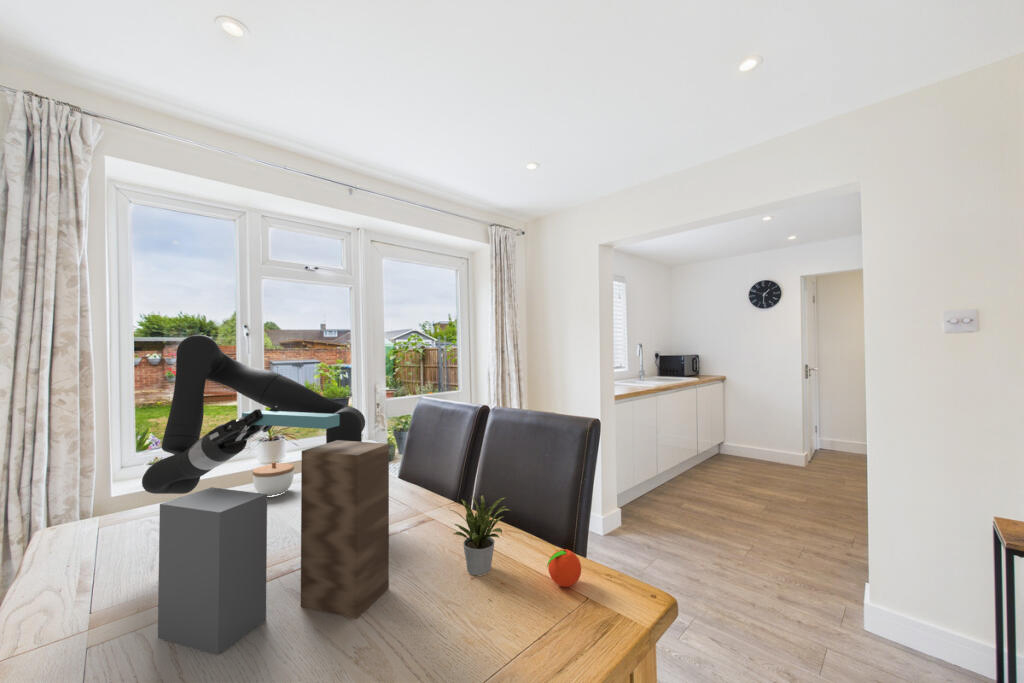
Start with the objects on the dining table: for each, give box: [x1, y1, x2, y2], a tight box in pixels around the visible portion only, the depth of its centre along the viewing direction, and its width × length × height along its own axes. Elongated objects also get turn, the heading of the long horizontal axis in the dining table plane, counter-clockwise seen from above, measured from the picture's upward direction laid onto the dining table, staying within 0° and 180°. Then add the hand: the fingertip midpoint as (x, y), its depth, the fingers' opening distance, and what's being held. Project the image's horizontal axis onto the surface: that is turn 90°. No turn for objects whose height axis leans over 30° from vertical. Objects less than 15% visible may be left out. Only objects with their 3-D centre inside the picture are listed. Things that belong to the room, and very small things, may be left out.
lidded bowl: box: [252, 461, 295, 496], centre depth 142 cm, size 13×13×11 cm
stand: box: [300, 440, 390, 620], centre depth 82 cm, size 13×10×30 cm
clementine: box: [546, 548, 582, 588], centre depth 85 cm, size 8×7×7 cm
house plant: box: [449, 494, 510, 576], centre depth 92 cm, size 14×14×16 cm
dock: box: [157, 487, 268, 656], centre depth 73 cm, size 14×9×23 cm, turn 73°
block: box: [241, 410, 340, 430], centre depth 87 cm, size 22×4×2 cm, turn 73°
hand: (269, 411), depth 88 cm, fingers closed on block, 4 cm apart
